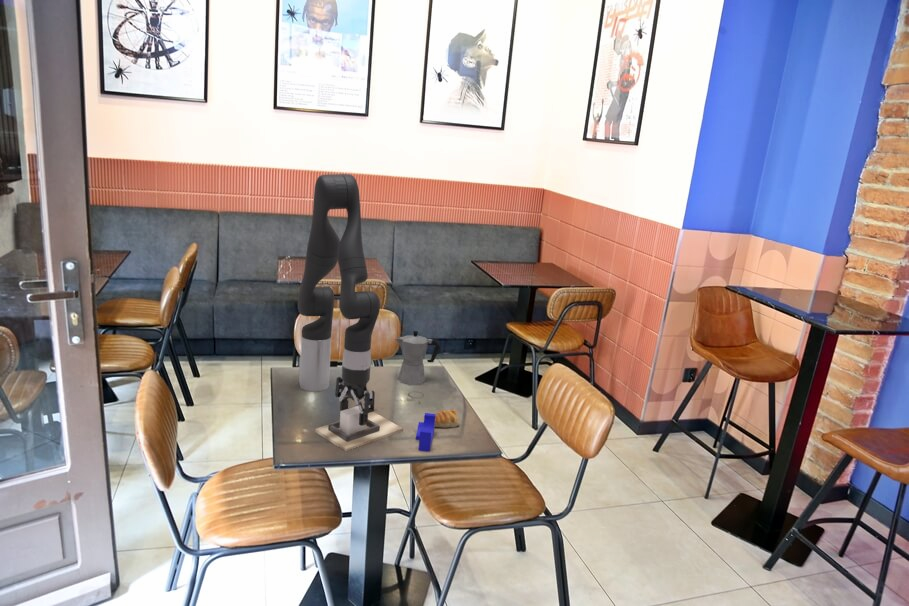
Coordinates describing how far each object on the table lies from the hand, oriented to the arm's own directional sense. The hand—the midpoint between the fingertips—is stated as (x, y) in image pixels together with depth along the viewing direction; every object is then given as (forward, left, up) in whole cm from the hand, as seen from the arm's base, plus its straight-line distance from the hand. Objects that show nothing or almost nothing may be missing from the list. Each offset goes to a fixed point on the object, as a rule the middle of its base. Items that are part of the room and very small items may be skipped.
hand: (353, 419), depth 172 cm
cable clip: (+15, +13, -5) cm, 21 cm away
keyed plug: (0, 0, -4) cm, 4 cm away
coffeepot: (-19, +41, -5) cm, 46 cm away
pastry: (+8, +24, -5) cm, 26 cm away
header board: (0, +2, -5) cm, 5 cm away
